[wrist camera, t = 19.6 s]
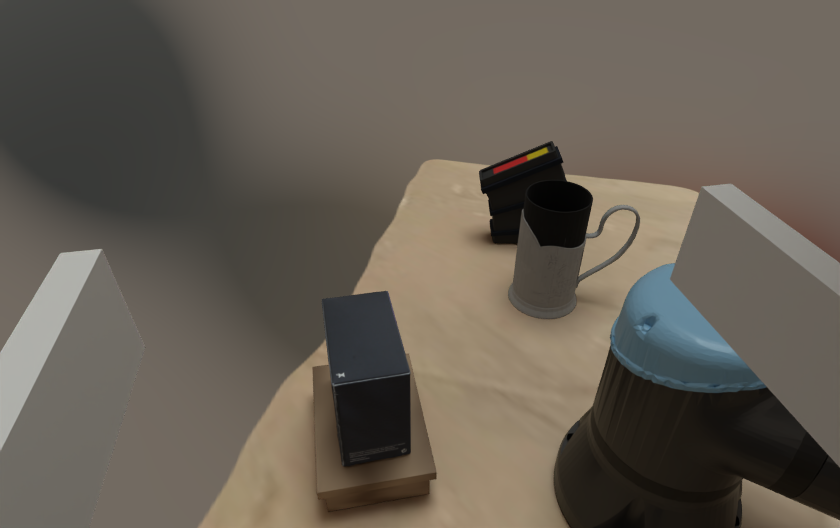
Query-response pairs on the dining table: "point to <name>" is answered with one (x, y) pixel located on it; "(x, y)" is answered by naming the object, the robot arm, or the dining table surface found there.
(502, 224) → the magazine
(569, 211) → the glass holder
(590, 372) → the dining table surface
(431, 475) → the walnut stand
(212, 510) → the dining table surface
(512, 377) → the dining table surface
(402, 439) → the small box
